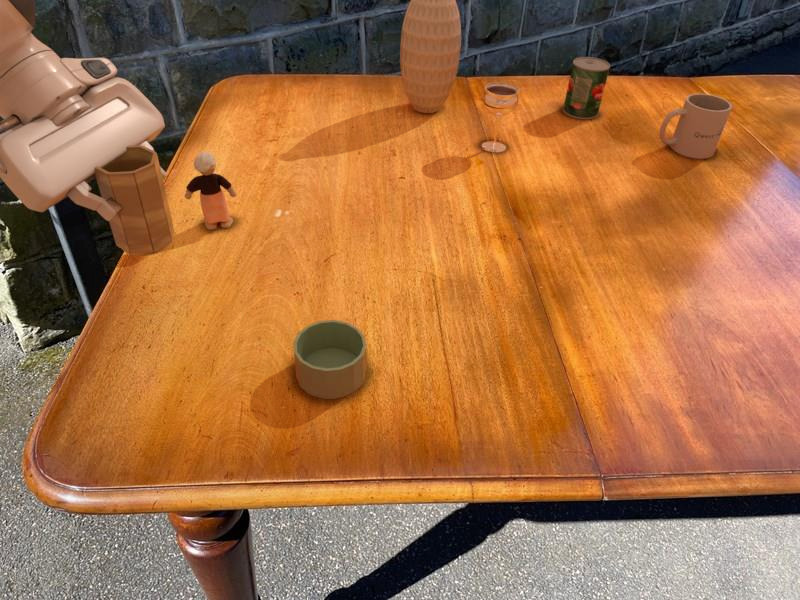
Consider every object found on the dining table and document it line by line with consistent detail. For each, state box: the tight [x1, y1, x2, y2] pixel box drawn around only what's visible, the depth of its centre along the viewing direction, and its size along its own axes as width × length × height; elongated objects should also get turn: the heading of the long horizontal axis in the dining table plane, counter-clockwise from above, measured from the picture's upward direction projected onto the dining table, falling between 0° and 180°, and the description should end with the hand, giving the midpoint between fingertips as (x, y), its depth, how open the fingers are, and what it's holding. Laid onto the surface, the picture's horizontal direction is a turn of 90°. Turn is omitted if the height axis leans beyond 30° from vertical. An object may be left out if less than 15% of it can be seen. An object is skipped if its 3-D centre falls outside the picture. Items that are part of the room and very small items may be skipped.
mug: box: [659, 93, 733, 160], centre depth 128 cm, size 12×9×10 cm
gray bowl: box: [292, 319, 367, 400], centre depth 77 cm, size 9×9×5 cm
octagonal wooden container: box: [95, 145, 175, 257], centre depth 73 cm, size 6×6×11 cm
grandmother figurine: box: [184, 151, 238, 231], centre depth 99 cm, size 8×4×13 cm, turn 115°
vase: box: [399, 0, 462, 114], centre depth 133 cm, size 13×13×28 cm
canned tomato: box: [562, 56, 611, 120], centre depth 140 cm, size 8×8×11 cm
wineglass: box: [481, 81, 521, 153], centre depth 125 cm, size 7×7×12 cm
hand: (139, 197), depth 73 cm, fingers closed on octagonal wooden container, 7 cm apart
